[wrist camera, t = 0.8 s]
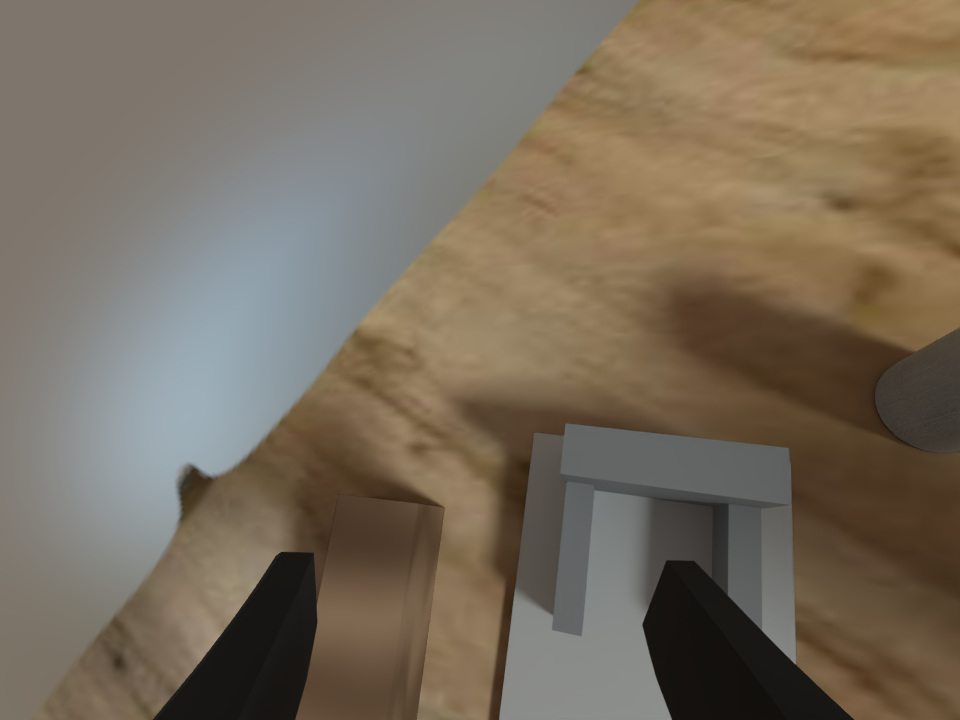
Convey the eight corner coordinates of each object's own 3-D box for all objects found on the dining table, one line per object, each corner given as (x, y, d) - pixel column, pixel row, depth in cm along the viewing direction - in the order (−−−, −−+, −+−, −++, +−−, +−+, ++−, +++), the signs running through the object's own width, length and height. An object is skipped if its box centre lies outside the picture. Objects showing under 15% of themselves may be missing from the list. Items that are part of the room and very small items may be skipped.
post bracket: (801, 1061, 18) (907, 1336, 12) (474, 937, 21) (424, 1104, 15) (787, 463, 24) (851, 440, 18) (535, 434, 27) (517, 406, 21)
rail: (396, 884, 22) (349, 967, 18) (315, 858, 23) (253, 930, 19) (445, 507, 27) (418, 503, 23) (377, 499, 28) (338, 494, 24)
